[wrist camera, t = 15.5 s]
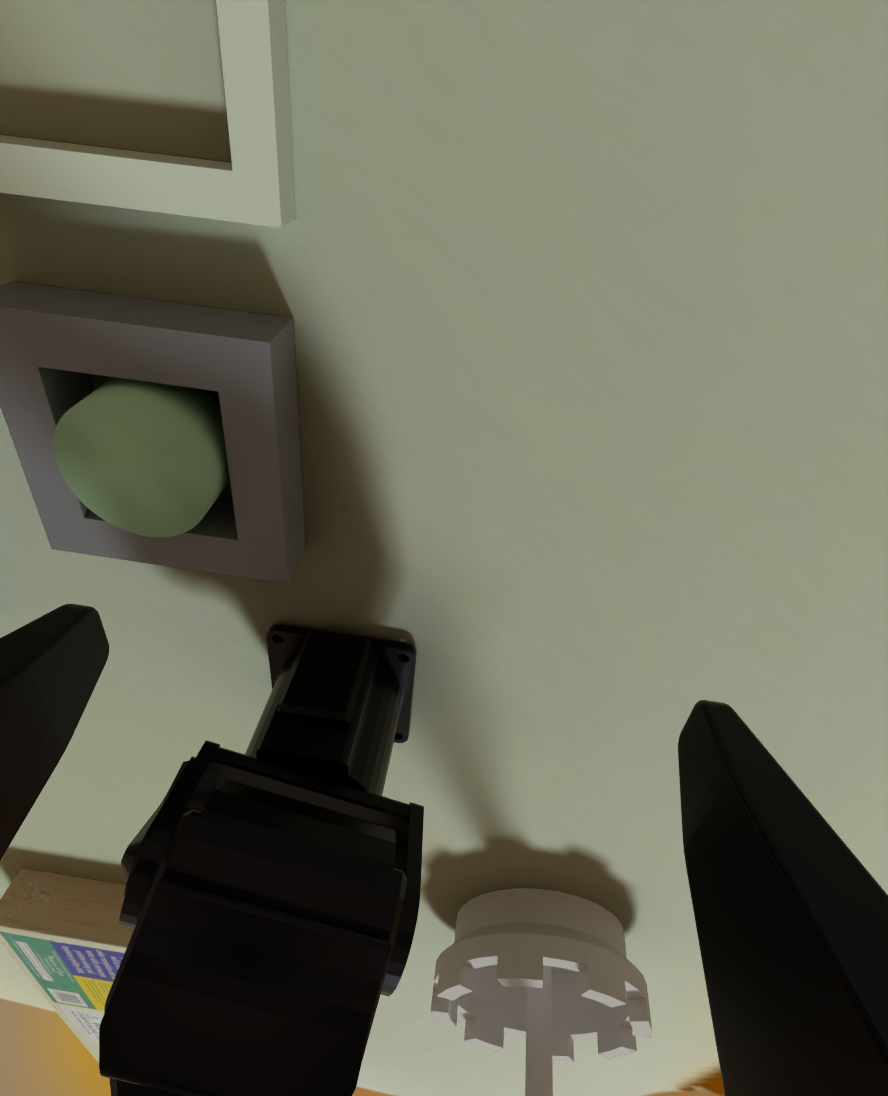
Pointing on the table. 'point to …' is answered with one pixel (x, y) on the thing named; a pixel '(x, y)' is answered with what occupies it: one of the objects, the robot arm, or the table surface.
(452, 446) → the table surface
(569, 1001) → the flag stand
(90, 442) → the button
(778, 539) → the table surface
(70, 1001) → the puzzle box
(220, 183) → the white square frame
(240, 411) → the button housing
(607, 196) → the table surface
